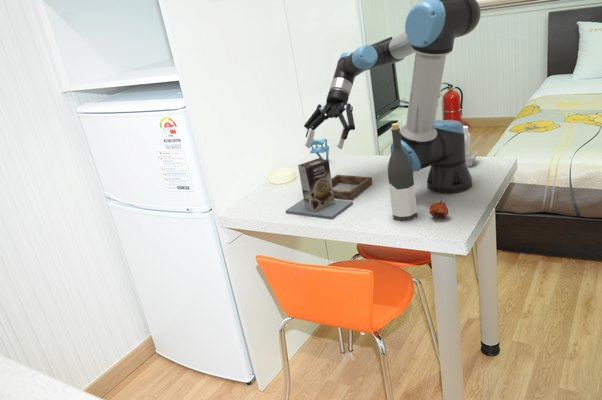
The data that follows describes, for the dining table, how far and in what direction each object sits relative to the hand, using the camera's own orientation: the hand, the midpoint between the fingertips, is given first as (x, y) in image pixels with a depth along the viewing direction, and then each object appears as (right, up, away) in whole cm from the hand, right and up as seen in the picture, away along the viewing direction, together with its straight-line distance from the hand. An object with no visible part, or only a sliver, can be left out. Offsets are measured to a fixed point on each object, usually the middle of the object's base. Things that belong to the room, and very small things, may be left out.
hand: (322, 147), depth 178 cm
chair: (+2, -3, +49) cm, 49 cm away
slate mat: (-1, -22, +2) cm, 22 cm away
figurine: (+56, -5, +17) cm, 59 cm away
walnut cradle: (+9, -15, +14) cm, 22 cm away
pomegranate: (+35, -24, -22) cm, 48 cm away
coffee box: (-1, -21, +1) cm, 21 cm away
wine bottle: (+25, -24, -16) cm, 38 cm away
